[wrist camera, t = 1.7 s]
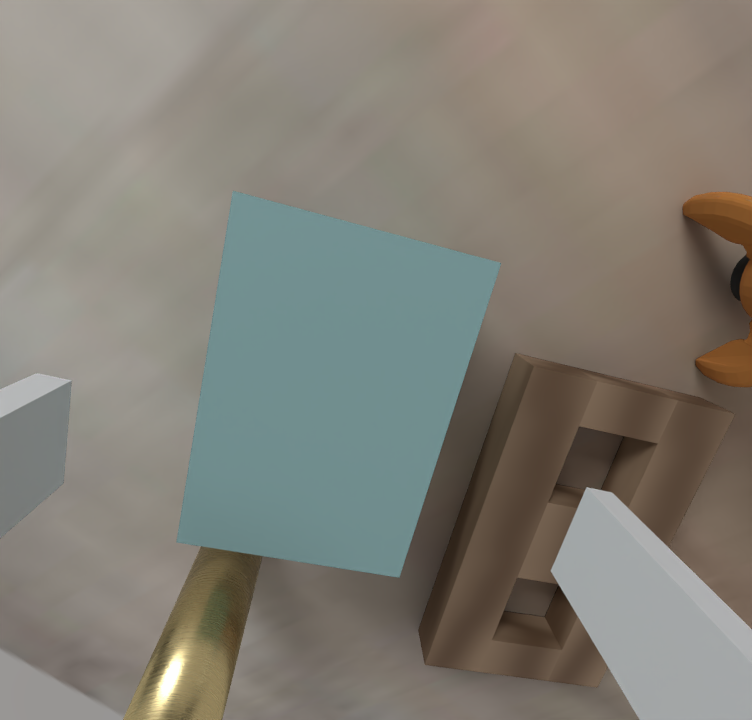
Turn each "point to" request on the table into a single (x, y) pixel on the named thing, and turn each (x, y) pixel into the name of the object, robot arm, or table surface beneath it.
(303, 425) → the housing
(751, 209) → the toy rocket
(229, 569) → the peg
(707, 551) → the table surface
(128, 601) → the table surface
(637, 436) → the board
